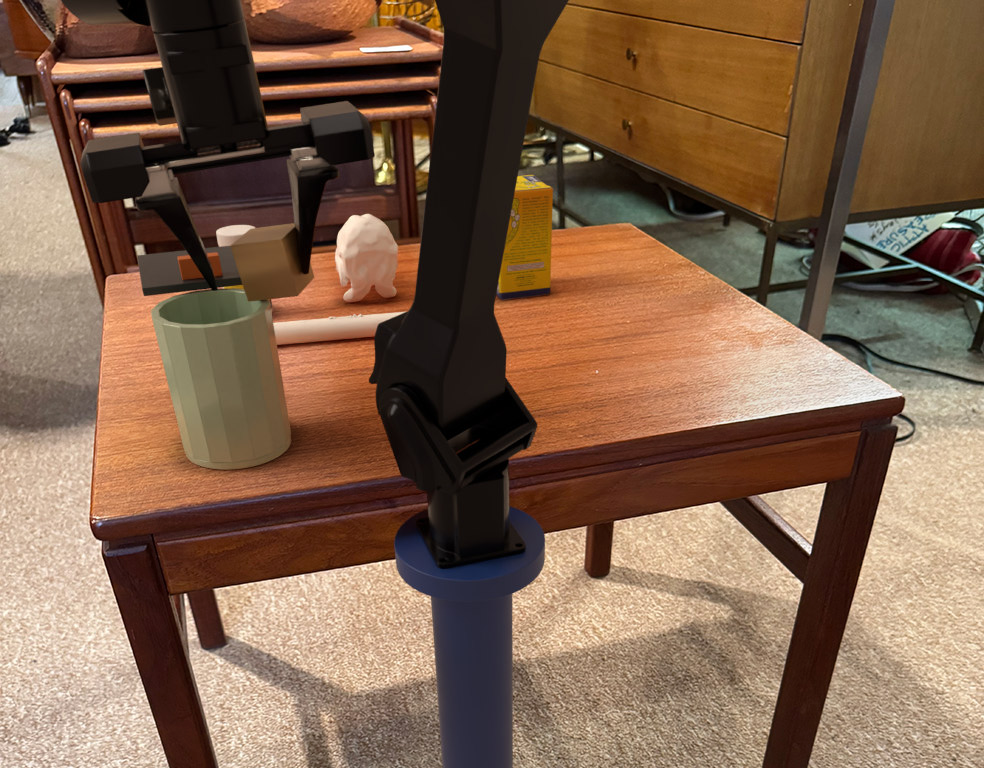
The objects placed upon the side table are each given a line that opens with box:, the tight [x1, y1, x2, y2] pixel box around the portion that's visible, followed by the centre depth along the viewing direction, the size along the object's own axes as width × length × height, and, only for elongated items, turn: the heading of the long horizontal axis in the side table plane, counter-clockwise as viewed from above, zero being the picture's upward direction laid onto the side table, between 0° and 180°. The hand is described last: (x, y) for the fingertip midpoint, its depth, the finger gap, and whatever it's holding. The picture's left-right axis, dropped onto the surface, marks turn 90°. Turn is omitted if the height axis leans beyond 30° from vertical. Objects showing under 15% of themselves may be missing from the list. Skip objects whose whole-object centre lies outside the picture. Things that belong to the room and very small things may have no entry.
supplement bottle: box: [215, 224, 274, 313], centre depth 97 cm, size 5×5×8 cm
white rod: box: [273, 311, 406, 346], centre depth 92 cm, size 18×2×2 cm, turn 102°
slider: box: [136, 246, 243, 297], centre depth 73 cm, size 9×9×2 cm
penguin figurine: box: [334, 213, 399, 303], centre depth 102 cm, size 6×8×12 cm
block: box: [230, 222, 315, 302], centre depth 69 cm, size 4×4×4 cm
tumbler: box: [150, 287, 292, 471], centre depth 72 cm, size 8×8×11 cm
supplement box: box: [496, 174, 554, 301], centre depth 101 cm, size 6×6×11 cm
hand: (260, 280), depth 68 cm, fingers open, 6 cm apart
